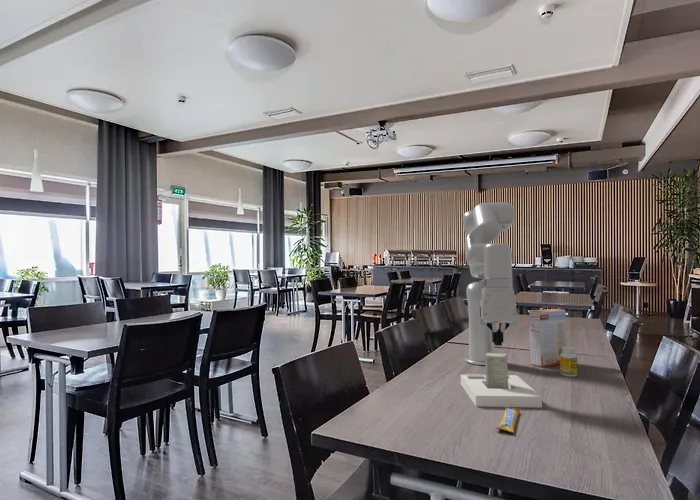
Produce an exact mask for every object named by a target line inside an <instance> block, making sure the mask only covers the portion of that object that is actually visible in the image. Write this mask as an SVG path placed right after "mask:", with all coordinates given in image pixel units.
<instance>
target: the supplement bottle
mask: <svg viewBox="0 0 700 500" xmlns="http://www.w3.org/2000/svg"><path fill="white" fill-rule="evenodd" d="M575 350H576V348H575V347H573V346H566V347H562V351H563V353H561V354H560V364H559V367H560V368H559V369H560V370H559V371H560V374H561V376H564V377H571V378H573V377H577V376H578V356H577V354H576V353H575V352H576V351H575Z"/></svg>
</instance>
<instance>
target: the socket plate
mask: <svg viewBox="0 0 700 500" xmlns="http://www.w3.org/2000/svg"><path fill="white" fill-rule="evenodd" d="M460 385H461V386H462V388H463V390H464V391H465V393H466V394H467V395H468V397H469V399H470V400H471V401H472V403H473V405H474V406H475V407H478V408H480V407H488V408H489V407H490V408H499V407H500V408H505V407H508V408H543V397H542V395H540V394H539V393H538V392H537V391H536V390H535V389H534V388H532V387H531V386H530V385H528V383H527V382H525V380H523V379H522V378H521V377H519V376H518V375H514V374H513V375H512V374H510V375H509V374H508V389H490V388H487V387H486V374H482V373H466V374H460Z"/></svg>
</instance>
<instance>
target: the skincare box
mask: <svg viewBox="0 0 700 500" xmlns="http://www.w3.org/2000/svg"><path fill="white" fill-rule="evenodd" d="M484 367H485V375H486V387H487V388H490V389H508V375H509V372H508V371H509V370H508V353H501V352H500V353H499V352H494V353H486V355H485V365H484Z"/></svg>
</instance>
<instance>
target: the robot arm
mask: <svg viewBox="0 0 700 500" xmlns="http://www.w3.org/2000/svg"><path fill="white" fill-rule="evenodd" d="M515 217H516V212H515V208H514V206H513V205H512V203H510V202H505V201H504V202H503V201H501V202H499V201H498V202H482V203H479V204H477V205H476V206H475V207H474V208H473V210H469V211H466V212H464V214H463V216H462V225H463V231H464V234H465V236H466V237H465V240H464V254H465V256H464V257H465V260H466V263H467V264H468V265H469V272H470V273H469V274H470V275H471V277H472V278H476V279H481V280H479V281H473V282H470V283H469V284H468V285H467V287H466V294H465V295H466V301H467V308H468V309H467V310H468V356H465V357H464V361H465V362H466V363H468V364H471V365H477V366H485V355H486V353H495V346H496V347H498V346H499V347H502V346H503V343H504V333H505V332H506V330H507V329H508V328H509V327H513V326H516V325H517V322H516V321H517V319H518V318H517V316H518V315H517V302H516V294H515V290H514V287H513V285H514V284H513V266H512V260H513V251H512V249H511V247H510V245H509V244H508V243H503V242H502V243H501V242H497V243H495V242H493V241H495V240H497V239H498V238H499V236H500V235H501V233H502V232H505V231H508V230H509V228H511V226H513V224H514V222H515V219H516V218H515ZM496 323H498V328H497V324H496Z"/></svg>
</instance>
